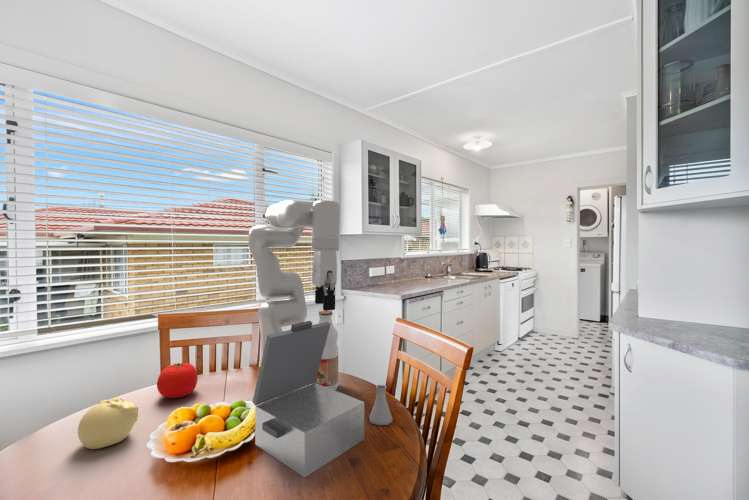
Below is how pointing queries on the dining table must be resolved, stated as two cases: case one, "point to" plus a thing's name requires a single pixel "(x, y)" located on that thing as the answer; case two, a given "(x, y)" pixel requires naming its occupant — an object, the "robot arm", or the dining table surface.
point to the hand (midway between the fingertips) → (324, 306)
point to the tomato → (177, 380)
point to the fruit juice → (328, 356)
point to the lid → (290, 360)
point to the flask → (380, 408)
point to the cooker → (309, 427)
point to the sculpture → (107, 423)
